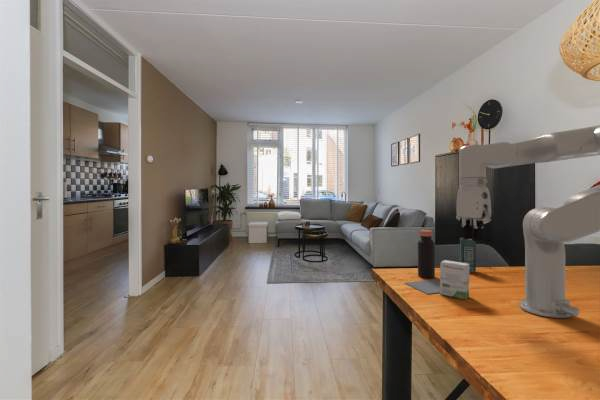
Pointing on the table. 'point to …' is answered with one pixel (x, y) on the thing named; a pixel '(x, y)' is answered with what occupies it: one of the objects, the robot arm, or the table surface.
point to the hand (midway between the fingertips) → (472, 239)
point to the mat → (426, 286)
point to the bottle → (426, 255)
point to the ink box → (454, 279)
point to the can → (468, 253)
